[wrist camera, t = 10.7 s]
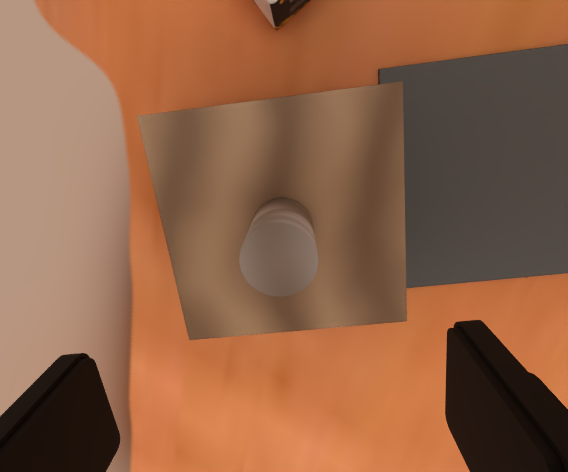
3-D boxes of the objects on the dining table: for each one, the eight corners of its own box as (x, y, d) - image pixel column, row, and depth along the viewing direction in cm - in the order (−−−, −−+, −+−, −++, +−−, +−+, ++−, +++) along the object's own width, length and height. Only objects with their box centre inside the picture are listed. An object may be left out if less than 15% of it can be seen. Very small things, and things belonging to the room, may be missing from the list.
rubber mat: (634, 35, 27) (639, 34, 27) (596, 268, 33) (600, 269, 32) (378, 69, 28) (379, 69, 28) (386, 287, 34) (387, 289, 34)
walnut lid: (397, 83, 22) (443, 67, 15) (401, 312, 27) (438, 379, 20) (144, 116, 23) (81, 115, 16) (193, 331, 28) (160, 400, 21)
